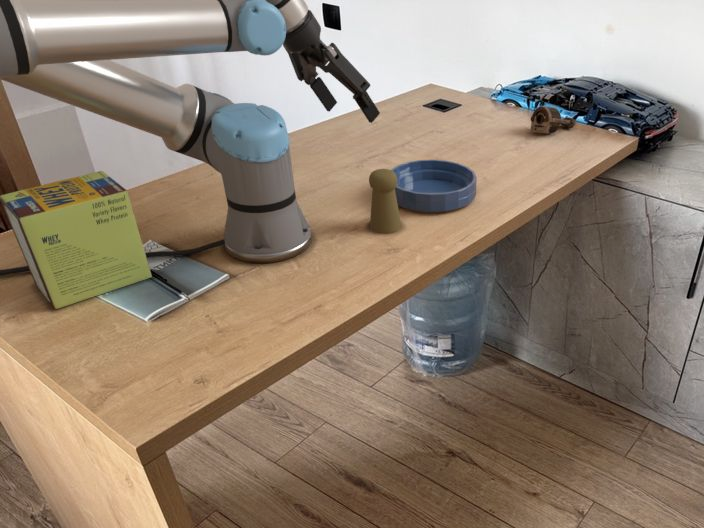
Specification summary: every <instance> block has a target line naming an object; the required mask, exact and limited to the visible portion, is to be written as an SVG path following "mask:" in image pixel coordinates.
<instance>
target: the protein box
mask: <svg viewBox="0 0 704 528" xmlns="http://www.w3.org/2000/svg"><path fill="white" fill-rule="evenodd" d="M0 203H1V205H2V208H3V210H4V213H5V215H6V217H7V220H8V222H9V225H10V227H11V229H12V232H13V235H14V236H15V239H16V241H17V244H18V247H19V248H20V251H21V253H22V256H23V258H24V260H25V263H26V266H28V268H29V270H30V271H29V274H30V275H31V278H32V280H33V282H34V285H35V286H36V288H38V289H39V291H40V292H41V294H42V295H43V296H44V297H45V298H46V300H47V301H48V302H49V304H50V305H51V306H52V307H53V309H54V310H59V309H61V308H64V307H67V306H70V305H73V304H76V303H79V302H82V301H85V300H88V299H92V298H94V297H97V296H100V295H103V294H106V293H109V292H112V291H114V290H118V289H121V288H124V287H127V286H130V285H133V284H136V283H139V282H142V281H145V280H148V279H151V278H152V277H153V274H152V271H151V268H150V265H149V261H148V258H147V257H146V254H145V253H146V251H145V247H144V243H143V241H142V238H141V235H140V231H139V227H138V224H137V220H136V217H135V214H134V211H133V206H132V203H131V199H130V196H129V193H128V190H127V189H126V188H125V187H123V186H122V185H121V184H120V183H118V182H117V181H116V180H114V179H113V178H112V177H111V176H110V175H108V174H107V173H106V172H104V171H103V170H99V171H93V172H90V173H87V174H83V175H79V176H75V177H71V178H65V179H61V180H57V181H54V182H48V183H44V184H41V185H38V186H34V187H29V188H25V189H20V190H17V191H13V192H9V193H5V194H1V195H0Z"/></svg>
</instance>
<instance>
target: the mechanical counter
mask: <svg viewBox="0 0 704 528" xmlns="http://www.w3.org/2000/svg"><path fill="white" fill-rule="evenodd" d="M576 124H577V121H576V119H574V118H573V117H570V116H567V117H563V118H562V115H561V112H560V111H559V110H558V109H557V108H555V107H551V106H546V105H539V106H538V107H536V108H535V109H534V111H533V113H532V115H531V116H530V130H529V131H530V133H538V134H545V135H546V134H554V133H556V132H557V131H558V130H559V129H560V127H563V128H565V129H572V128H574V127H575V126H576Z"/></svg>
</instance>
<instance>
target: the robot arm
mask: <svg viewBox="0 0 704 528" xmlns="http://www.w3.org/2000/svg"><path fill="white" fill-rule="evenodd" d="M321 32H322V27H321V25H320V23H319V22H318V20H317V18H316V17H315V15H314V13H313V12H312V10H310V9H309V7H308V5H307V3H306V1H305V0H0V81H3V82H6V83H9V84H12V85H15V86H18V87H20V88H22V89H26V90H29V91H32V92H34V93H37V94H40V95H43V96H46V97H48V98H51V99H54V100H56V101H58V102H62V103H65V104H66V105H67V104H68V105H70V106H73V107H76V108H79V109H82V110H84V111H87V112H90V113H93V114H95V115H98V116H101V117H103V118H107V119H109V120H112V121H115V122H118V123H120V124H123V125H126V126H129V127H131V128H134V129H137V130H140V131H142V132H144V133H145V132H146V133H148V134H151V135H154V136H156V137H160V138H161V139H162V142H163V144H164V145H165V147H166V148H167V149H168V150H170V151H172V152H175V153H178V154H180V155H184V156H185V157H186V156H187V157H190V158H192V159H195V160H198V161H200V162H203V163H205V164H207V165H209V166H210V167H211V168H212V169H214V170H215V171H216V172H218V173H219V174H220V176H221V179H222V184H223V189H224V193H225V194H224V195H225V198H226V203H227V213H226V219H225V225H224V233H223V239H220V240H217V241H216V240H215V241H213V242H210V243H207V244H204V245H201V246H199V247H195V248H194V247H193V248H189V249H188V248H187V249H182V250H161V251H147V252H146V251H145V254H146V257H147V259H148V258H159V257H160V258H163V257H165V258H166V257H181V256H189V255H195V254H199V253H202V252H205V251H208V250H211V249H214V248H217V247H221V246H224V249H225V250H226V253H227V254H228V255H229V256H231V257H233V258H234V259H236V260H239V261H242V262H248V263H255V264H256V263H257V264H265V263H276V262H281V261H282V262H283V261H285V260H289V259H291V258H294V257H296V256H299V255H301V254H302V253H304V252H305V251H306V250H307V249H308V248H309V247H311V244H312V239H313V237H312V229H311V228H310V225H309V223H308V221H307V219H306V216H305V214H304V212H303V210H302V208H301V207H300V204H299V203H298V200H297V196H296V195H297V194H296V188H295V187H296V186H295V180H294V172H293V162H292V155H291V147H290V135H289V132H288V128H287V124H286V121H285V119H284V118H283V116H282V114H280V112H278V111H277V110H275V109H274V108H273V107H269V106H267V105H264V104H260V105H259V104H258V105H257V104H256V103H252V102H239V103H234V101H232V100H231V99H229V98H228V97H226V96H225V95H221V94H219V93H216V92H211V91H207V90H204V89H202V88H200V87H198V86H195V85H194V84H190V83H183V84H181V85H179V86H177V87H176V86H172V85H170V84H167V83H165V82H164V81H160V80H158V79H157V78H153V77H151V76H148V75H146V74H144V73H142V72H139V71H137V70H135V69H132V68H130V67H127V66H125V65H123V64H120V63H119V62H118V63H117V62H116V61H115V60H126V59H127V60H129V59H140V58H141V59H143V58H157V57H169V56H185V55H198V54H199V55H200V54H201V55H202V54H213V53H214V54H215V53H216V54H217V53H236V52H237V53H238V52H248V53H249V54H251V55H255V56H257V55H259V56H265V57H266V56H271V55H274V54H275V53H277V52H278V51H279V50H280V49H281V48H282V46H283V48H284V49H285V51H286V53H287V55H288V57H289V60H290V62H291V65H292V68H293V70H294V73H295V76H296V78H297V79H298V81H300V82H303V81H304V83H305V84H306V85H308V86H309V87H310V90H312V91H313V92H314V95H315V96H316V97H317V99H318V100H319V102H320V103H321V105H322V106H323V107H324V109H325V110H326V111H327V112H328V113H329V112H331V111H332V110H333V108H334V107H336V105H337V104H338V101H337V100H336V98H335V96H334V95H333V93H332V92H331V91H330V89H329V88H328V86H327V84H326V83H325V82H324V80H323V79H322V77H321V76H318V75H320V73H319V72H318V71H317V68H319V69H320V70H322V71H323V72H324V73H326V74H330V75H331V76H332V77H334V79H336V80H337V81H338V82H339V83H340V84H341V85H343V87H345V88H346V89H347V90H348V91H349V92H351V93H352V94H353V95H352V99H353V100H354V101H355V103H356V104H357V107H359V109H360V110H361V112H362V114H363V115H364V117H365V118H366V120H367V121H368V122H369V123H370V124H372V123H374V121H375V120H376V119H377V118H378V116H379V115H380V114H381V112H380V110H379V108H377V106H376V104H375V103H374V101H373V99H372V97H371V96H370V95H369V93H368V91H367V90H369V88H371V84H370V82H369V81H368V80H367V79H366V78H365V77H364V75H362V73H361V72H360V71H359V70H357V68H356V67H355V66H354V65H353V64H352V63H351V61H349V60H348V58H347V57H346V56H345V55H343V53H342V52H341V51H340V49H339V48H338V46H337V45H336V44H335V43H334V42H330V44H328V45H326V44H325V42H323V41H322V39H321ZM27 272H30V270H29V268H28V265H25V266H17V267H11V268H4V269H0V277H1V276H7V275H13V274H20V273H27Z"/></svg>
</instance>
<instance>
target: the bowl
mask: <svg viewBox="0 0 704 528" xmlns="http://www.w3.org/2000/svg"><path fill="white" fill-rule="evenodd" d="M390 170H392V171H393V172H394V173H395V174H396V176H397V186H396V188H395V193H396V199H397V204H398V207H401V208H403V209H408V210H410V211H413V212H420V213H431V214H432V213H433V214H434V213H435V214H437V213H445V212H451V211H455V210H459V209H460V208H463V207H465V206H468V205H469V204H470V203H472V202H473V201H474V200H475V198H476V194H477V180H478V178H477V175H476V172H475V171H474V170H473V169H472V168H470V167H468V166H466V165H464V164H461V163H459V162H455V161H450V160H446V159H445V160H444V159H418V160H411V161H407V162H403V163H401V164H398V165H396V166H394V167H392V168H391V169H390Z"/></svg>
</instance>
